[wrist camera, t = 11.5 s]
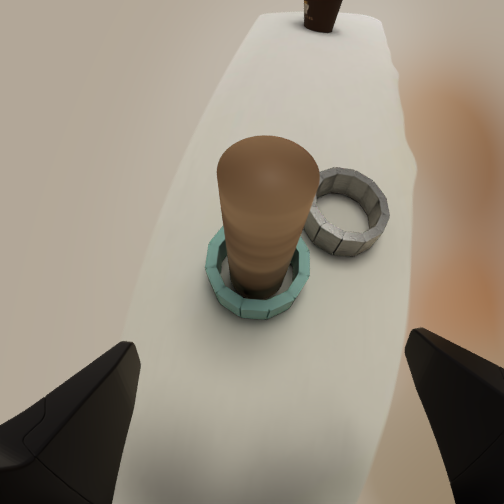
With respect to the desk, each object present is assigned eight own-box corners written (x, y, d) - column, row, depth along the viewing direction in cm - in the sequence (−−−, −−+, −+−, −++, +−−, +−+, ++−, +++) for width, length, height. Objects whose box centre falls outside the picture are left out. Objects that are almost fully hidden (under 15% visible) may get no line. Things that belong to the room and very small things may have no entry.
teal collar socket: (301, 321, 22) (309, 313, 19) (205, 314, 22) (199, 305, 19) (302, 236, 25) (308, 219, 22) (217, 229, 25) (213, 211, 22)
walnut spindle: (289, 293, 23) (334, 205, 11) (235, 304, 23) (225, 222, 11) (276, 245, 25) (301, 132, 13) (226, 254, 24) (210, 142, 12)
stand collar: (380, 258, 24) (394, 244, 22) (301, 252, 24) (308, 236, 22) (370, 191, 27) (381, 174, 25) (300, 183, 28) (305, 163, 25)
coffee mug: (335, 37, 45) (343, 0, 36) (296, 29, 46) (301, -9, 37) (337, 24, 50) (344, -8, 41) (303, 17, 51) (308, -16, 42)
